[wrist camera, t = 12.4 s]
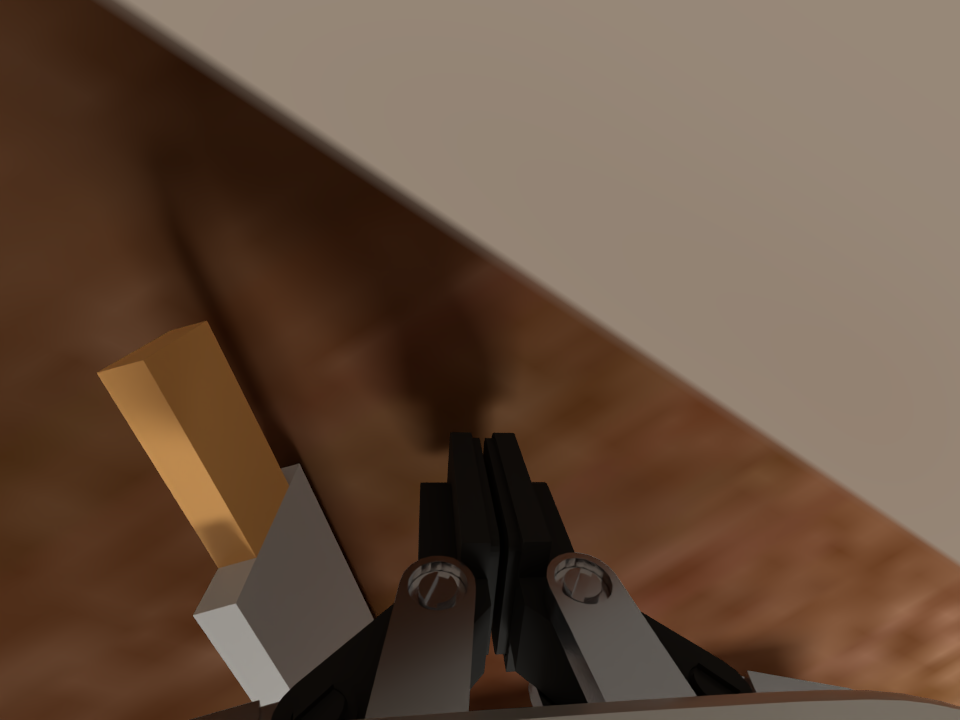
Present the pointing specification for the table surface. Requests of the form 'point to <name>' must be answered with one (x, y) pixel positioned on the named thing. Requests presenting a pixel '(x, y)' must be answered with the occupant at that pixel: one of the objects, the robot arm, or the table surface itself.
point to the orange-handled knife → (240, 514)
